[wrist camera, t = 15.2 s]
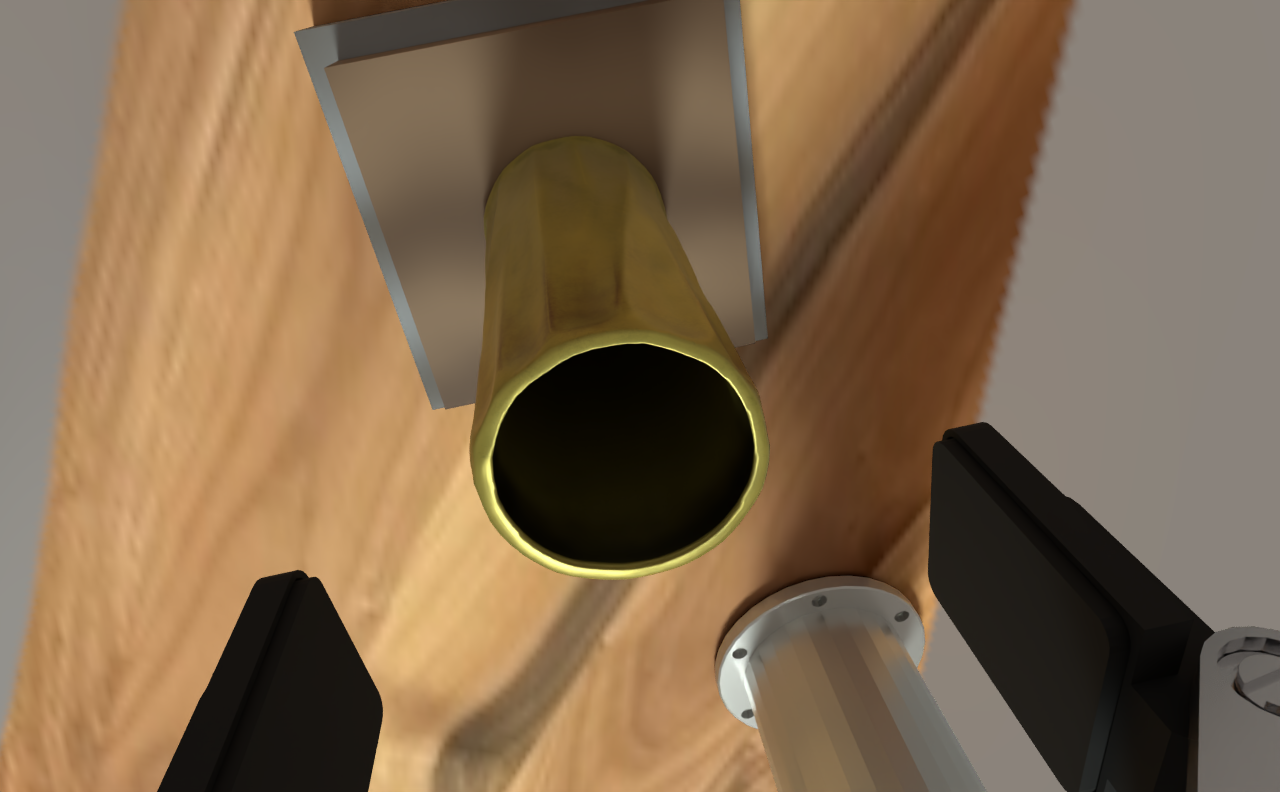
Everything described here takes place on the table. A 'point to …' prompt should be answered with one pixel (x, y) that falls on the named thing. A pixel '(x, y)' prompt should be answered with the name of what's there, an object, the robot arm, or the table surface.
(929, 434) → the table surface
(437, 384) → the stand
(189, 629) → the table surface
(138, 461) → the table surface
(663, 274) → the vase
